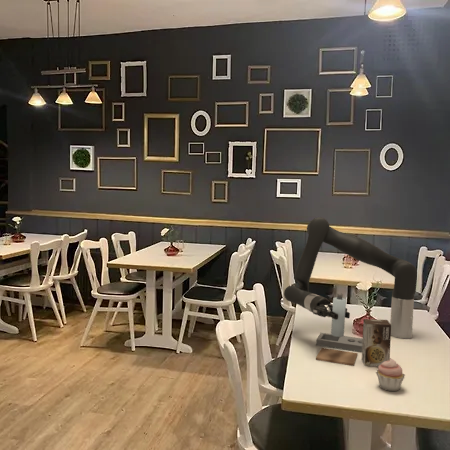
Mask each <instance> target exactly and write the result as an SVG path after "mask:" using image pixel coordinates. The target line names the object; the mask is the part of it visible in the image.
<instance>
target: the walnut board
mask: <svg viewBox="0 0 450 450" xmlns="http://www.w3.org/2000/svg"><path fill="white" fill-rule="evenodd" d="M358 353H359V352H354V351H348V350H341V349H338V350H337V349H335V348H328V347H321V348H320V350H319V352H318V353H317V356H316V357H315V360H316V361H322V362H329V363H334V364H340V365H345V366H346V365H347V366H351V367H354V366H355V364H356V360H357V357H358Z"/></svg>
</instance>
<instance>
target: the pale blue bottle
mask: <svg viewBox="0 0 450 450" xmlns="http://www.w3.org/2000/svg"><path fill="white" fill-rule="evenodd" d="M343 295H344V294H343V293H340V292H337V293H336V297H333V298H332V304H333V310H332V311H333V312H335V313H337V314H338V319H333V318H331V325H330V326H331V327H330V328H331V331H330V334H331V335H333V336H336V337H342V336H345V325H346V324H345V322H346V318H345V310H346V308H347V298H344V297H343Z"/></svg>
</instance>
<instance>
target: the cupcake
mask: <svg viewBox="0 0 450 450" xmlns="http://www.w3.org/2000/svg"><path fill="white" fill-rule="evenodd" d="M377 367H378V368H377V369H376V371H375V374H376V376H377V380H378V384H379V387H380V388H381V389H382V390H385V391H387V392H388V391H389V392H397V391H399V390H400V389H401V387H402V383H403V381H404V379H405V378H406V374H404V373H403V368H402V366H401V365H400V364H399V363H397V361H396V360H394V359H393V358H391V357H390V359H389V361H385V362H383V363H382V364H381V365H379V366H377Z"/></svg>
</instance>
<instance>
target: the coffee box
mask: <svg viewBox="0 0 450 450" xmlns="http://www.w3.org/2000/svg"><path fill="white" fill-rule="evenodd" d="M391 337H392V335H391V324H390V321H389V320H388V319H377V318H375V319H373V318H372V319H371V318H363V326H362V338H363V342H362V352H361V361H362V363H363V367H364V366H365V367H378V366H379V365H381V364H382V363H383V362H385V361H389V359H390V358H391V339H392V338H391Z"/></svg>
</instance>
